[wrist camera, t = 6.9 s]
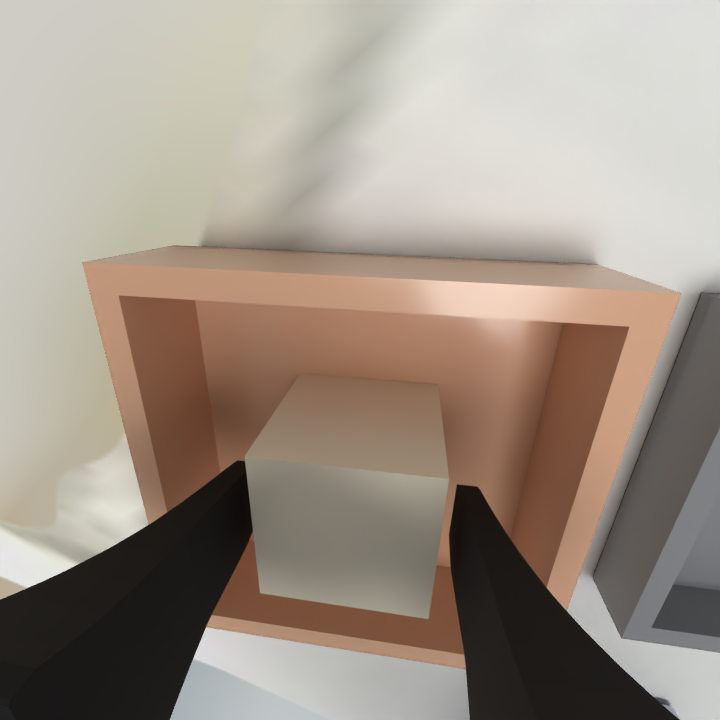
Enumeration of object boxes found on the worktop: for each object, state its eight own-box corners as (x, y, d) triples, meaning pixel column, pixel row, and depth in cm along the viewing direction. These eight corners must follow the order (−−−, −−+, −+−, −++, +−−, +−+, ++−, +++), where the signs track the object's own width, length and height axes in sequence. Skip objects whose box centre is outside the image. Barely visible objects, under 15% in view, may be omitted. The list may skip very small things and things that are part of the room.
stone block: (424, 494, 15) (428, 619, 11) (304, 480, 16) (260, 593, 11) (437, 384, 13) (449, 479, 9) (300, 373, 14) (244, 456, 9)
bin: (513, 578, 17) (540, 680, 14) (220, 539, 19) (173, 621, 15) (597, 264, 12) (681, 293, 8) (173, 245, 13) (81, 262, 10)
